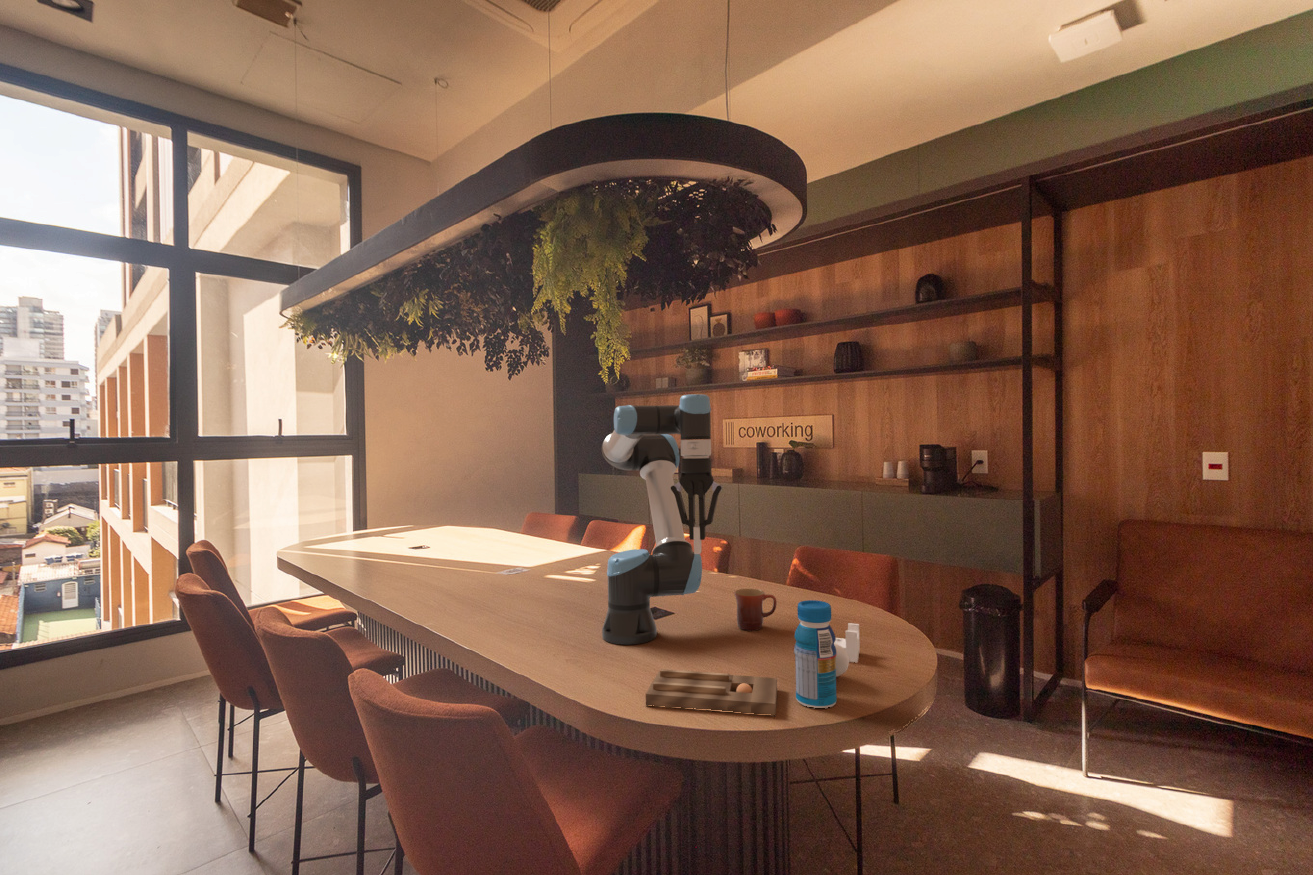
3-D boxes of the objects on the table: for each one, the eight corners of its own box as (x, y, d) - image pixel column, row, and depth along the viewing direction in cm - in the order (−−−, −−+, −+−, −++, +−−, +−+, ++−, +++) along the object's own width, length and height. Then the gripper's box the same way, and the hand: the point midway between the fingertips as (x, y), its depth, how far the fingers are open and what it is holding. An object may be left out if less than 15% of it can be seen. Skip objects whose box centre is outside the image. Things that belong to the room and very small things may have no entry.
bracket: (859, 654, 152) (859, 624, 152) (857, 663, 145) (856, 632, 145) (807, 648, 157) (806, 618, 157) (802, 657, 150) (801, 626, 150)
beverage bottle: (792, 706, 122) (790, 607, 122) (798, 690, 130) (796, 597, 130) (835, 712, 119) (833, 611, 119) (839, 695, 127) (837, 600, 127)
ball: (732, 696, 124) (742, 684, 124) (733, 688, 128) (743, 677, 127) (745, 707, 124) (755, 695, 123) (746, 699, 127) (756, 687, 127)
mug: (735, 632, 170) (734, 596, 170) (734, 623, 178) (733, 588, 178) (778, 633, 169) (777, 596, 169) (775, 623, 177) (774, 588, 177)
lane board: (645, 706, 124) (645, 687, 124) (659, 681, 136) (659, 664, 136) (775, 716, 118) (775, 697, 118) (777, 689, 130) (776, 672, 131)
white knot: (847, 671, 140) (846, 632, 140) (852, 692, 128) (851, 650, 129) (797, 668, 143) (796, 630, 143) (797, 688, 131) (796, 647, 131)
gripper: (667, 458, 147) (668, 555, 147) (720, 457, 144) (722, 556, 144) (672, 457, 154) (674, 549, 154) (724, 456, 151) (725, 550, 151)
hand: (697, 552), depth 149 cm, fingers closed
